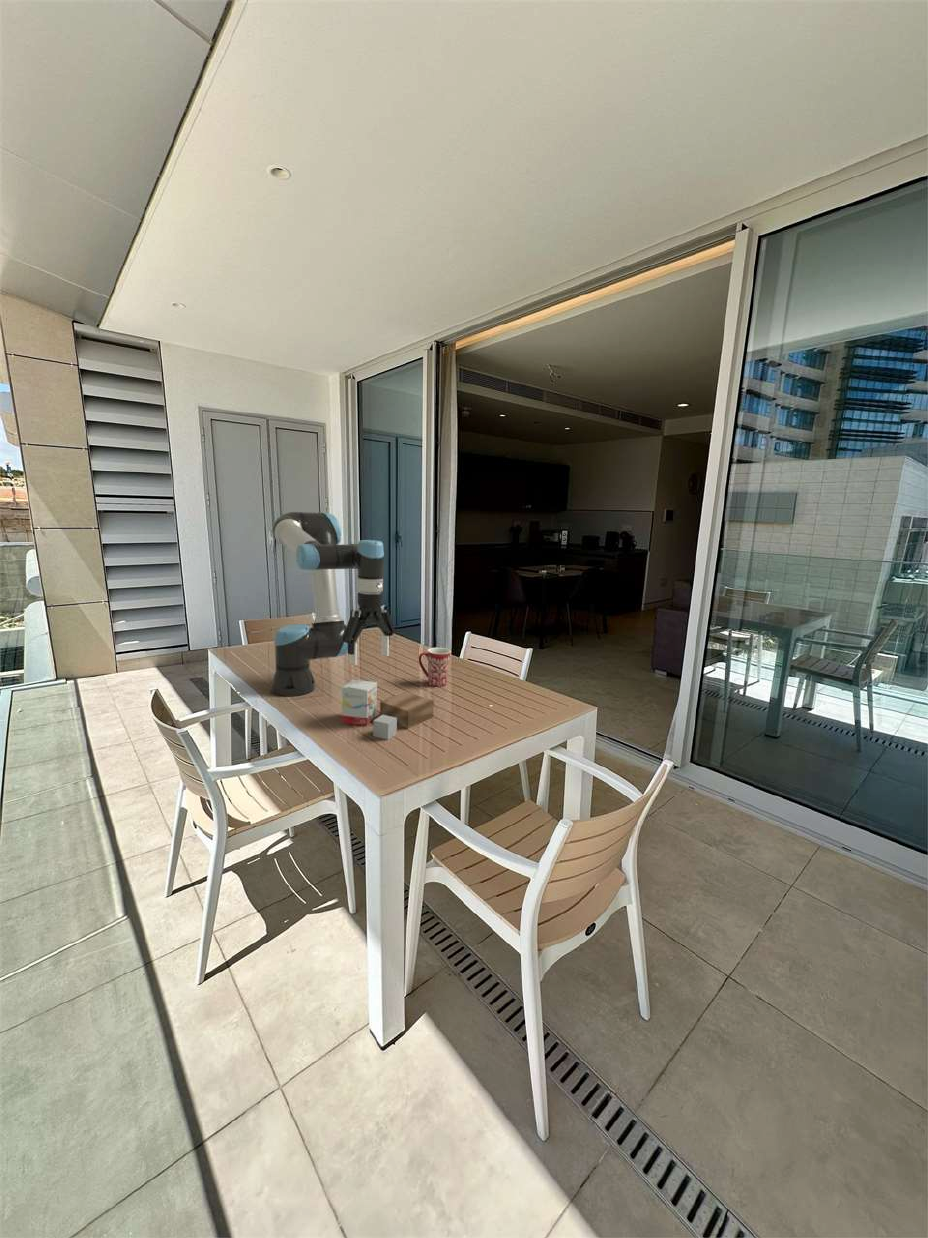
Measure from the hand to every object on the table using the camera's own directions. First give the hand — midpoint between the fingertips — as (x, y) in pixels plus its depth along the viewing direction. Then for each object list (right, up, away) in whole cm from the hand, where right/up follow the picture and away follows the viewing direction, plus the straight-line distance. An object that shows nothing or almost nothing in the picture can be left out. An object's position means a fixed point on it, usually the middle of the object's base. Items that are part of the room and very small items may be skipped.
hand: (369, 659), depth 155 cm
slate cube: (+6, -22, -7) cm, 24 cm away
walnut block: (+11, -19, +6) cm, 23 cm away
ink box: (-4, -19, +3) cm, 20 cm away
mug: (+17, -13, +40) cm, 46 cm away
